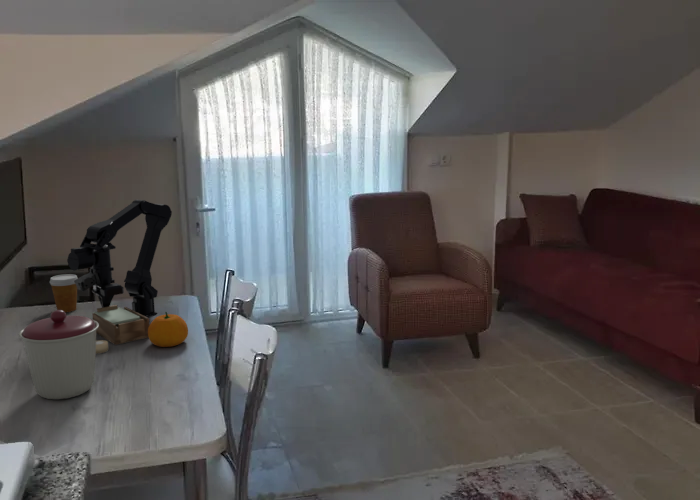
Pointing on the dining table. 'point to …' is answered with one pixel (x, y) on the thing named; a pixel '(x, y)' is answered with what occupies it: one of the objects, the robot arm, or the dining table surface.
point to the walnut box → (123, 329)
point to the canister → (61, 354)
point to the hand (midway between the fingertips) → (105, 311)
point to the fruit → (167, 330)
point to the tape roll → (101, 346)
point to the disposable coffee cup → (64, 291)
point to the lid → (116, 314)
